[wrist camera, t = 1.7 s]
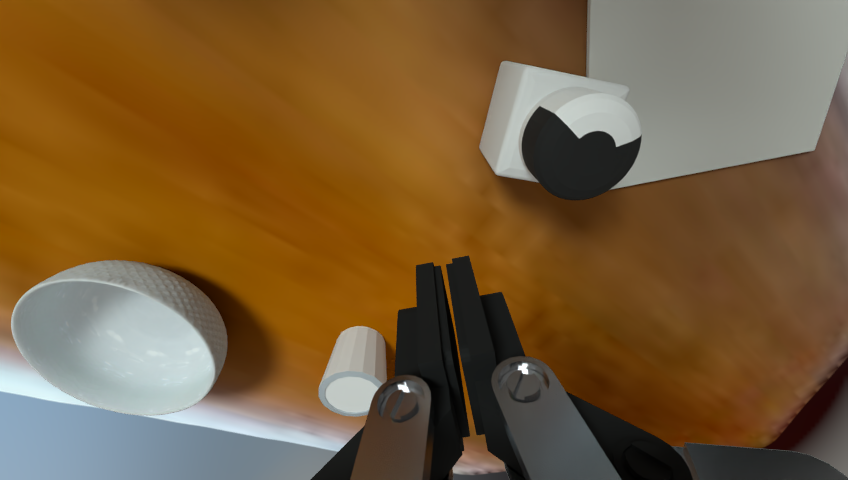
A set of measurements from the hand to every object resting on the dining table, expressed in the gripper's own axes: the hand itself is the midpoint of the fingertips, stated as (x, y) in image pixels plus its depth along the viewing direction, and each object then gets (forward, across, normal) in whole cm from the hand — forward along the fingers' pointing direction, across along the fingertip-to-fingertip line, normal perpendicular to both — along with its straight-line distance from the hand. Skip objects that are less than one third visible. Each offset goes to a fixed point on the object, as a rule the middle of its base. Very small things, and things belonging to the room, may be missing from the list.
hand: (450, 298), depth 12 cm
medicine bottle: (+22, -9, 0) cm, 24 cm away
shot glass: (+22, +12, +22) cm, 33 cm away
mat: (+22, -24, 0) cm, 32 cm away
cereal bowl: (+22, +31, +12) cm, 40 cm away
